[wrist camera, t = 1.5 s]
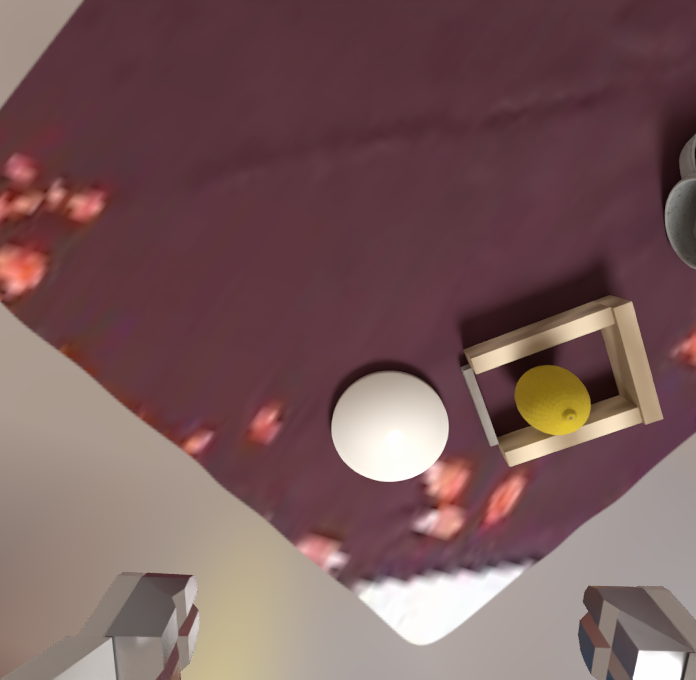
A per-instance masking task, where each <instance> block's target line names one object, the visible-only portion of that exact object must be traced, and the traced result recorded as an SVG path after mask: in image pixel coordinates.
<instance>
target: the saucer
mask: <svg viewBox="0 0 696 680" xmlns="http://www.w3.org/2000/svg"><path fill="white" fill-rule="evenodd" d="M448 431H449V425H448V417H447V413H446V410H445V408H444V405H443V403H442V401H441V399H440V397H439V396H438V394H437V393H436V392H435V390H434V389H433V388H432V387H431V386H430V385H429V384H427V383H426V382H425V381H423V380H422V379H420V378H418V377H416V376H414V375H412V374H409V373H406V372H401V371H392V370H389V371H379V372H374V373H371V374H368V375H366V376H363V377H361V378H360V379H358V380H356V381H355V382H353V383H352V384H351V385H350V386H349V387H348V388H347V389H346V390H345V391H344V392H343V394H342V395H341V396H340V398H339V400H338V402H337V404H336V406H335V409H334V413H333V418H332V437H333V442H334V445H335V447H336V450H337V452H338V453H339V455H340V457H341V458H342V459H343V461H344V462H345V463H346V464H347V465H348V466H349V467H350V468H352V469H353V470H354V471H356V472H357V473H359V474H361V475H363V476H365V477H367V478H371V479H374V480H379V481H388V482H389V481H401V480H405V479H409V478H412V477H414V476H417V475H418V474H420V473H422V472H424V471H425V470H426V469H428V468H429V467H430V466H431V465H432V464H433V463H434V462H435V461H436V460H437V459H438V458H439V456H440V454H441V453H442V451H443V449H444V447H445V445H446V441H447V438H448Z"/></svg>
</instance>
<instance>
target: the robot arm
mask: <svg viewBox="0 0 696 680" xmlns="http://www.w3.org/2000/svg"><path fill="white" fill-rule="evenodd" d="M197 592H198V591H197V581H196V577H195V576H194V575H179V574H161V573H132V572H123V573H121V574H119V575H118V576H117V577H116V578H115V580H114V581H113V582H112V584H111V585H110V587H109V588H108V590H107V591H106V592H105V594H104V595H103V597H102V598H101V600H100V601H99V602H98V604H97V605H96V607H95V608H94V610H93V611H92V613H91V614H90V615H89V617H88V618H87V620H86V621H85V623H84V624H83V625H82V627H81V628H80V630H79V631H78V633H77V634H76V635H75V636H67V637H65V638H64V639H62V640H61V641H59V642H58V643H56V644H54V645H53V646H51V647H50V648H48V649H47V650H45V651H43V652H42V653H40V654H39V655H37V656H36V657H34V658H32V659H31V660H30V661H28V662H26V663H25V664H23V665H21V666H20V667H18V668H17V669H15V670H14V671H12V672H10V673H9V674H7V675H6V676H4V677H3V678H1V679H0V680H181V670H183V669H184V668H185V667H186V666H187V665H188V664H189V663H190V661H191V658H192V656H193V653H194V650H195V646H196V641H197V636H198V629H199V610H198V609H197V608H196V607H195V605H194V604H193V601H194V599H195V597H196V594H197ZM583 604H584V605H585V607H586V609H587V610H588V613H587V614H586V615H585V616H584V617H583V618H582V619H581V620H580V622H579V631H578V637H579V645H580V651H581V654H582V656H583V659H584V662H585V664H586V666H587V668H588V670H589V672H590V674H591V675H592V676H594V677H595V678H596V679H597V680H696V620H695V619H694V617H693V616H692V615H691V614H690V613H689V612H688V611H687V610H686V609H685V607H684V606H683V605H682V604H681V603H680V602H679V601H678V600H677V598H676V597H675V596H674V595H673V594H672V593H671V592H670V591H669V590H668V589H666V588H664V587H662V586H637V587H621V586H588V587H587V589H586V590H585V592H584V597H583Z"/></svg>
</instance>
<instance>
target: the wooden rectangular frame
mask: <svg viewBox="0 0 696 680" xmlns="http://www.w3.org/2000/svg"><path fill="white" fill-rule="evenodd" d="M599 329H601V332H602V336H603V339H604V343H605V346H606V350H607V353H608V357H609V360H610V364H611V367H612V371H613V374H614V378H615V381H616V385H617V388H618V392H619V395H618V396H615V397H612V398H609V399H606V400H603V401H600V402H597V403H595V404H592V405H591V409H590V414H589V417H588V419H587V421H586V422H585V423H584V425H583V426H582V427H581V428H579V429H578V430H577V431H575V432H572V433H570V434H566V435H551V434H547V433H544V432H542V431H540V430H538V429H536V428H534V427H533V426H528V427H525V428H523V429H520V430H517V431H514V432H511V433H508V434H505V435H502V436H499V437H496V434H495V431H494V429H493V426H492V423H491V420H490V418H489V415H488V412H487V409H486V407H485V404H484V401H483V398H482V395H481V393H480V390H479V387H478V384H477V382H476V379H475V376H474V373H473V371H474V372H475V373H476V374H479V373H482V372H484V371H487V370H490V369H493V368H495V367H498V366H501V365H503V364H506V363H509V362H512V361H514V360H517V359H520V358H523V357H525V356H528V355H531V354H534V353H536V352H539V351H542V350H544V349H547V348H550V347H553V346H555V345H558V344H561V343H564V342H566V341H569V340H572V339H575V338H577V337H580V336H583V335H585V334H588V333H591V332H594V331H596V330H599ZM464 353H465V355H466V358H467V361H468V365H465V366H462V367H461V370H462V373H463V376H464V378H465V381H466V384H467V387H468V389H469V392H470V395H471V397H472V400H473V403H474V406H475V408H476V411H477V414H478V417H479V419H480V422H481V425H482V427H483V430H484V433H485V436H486V438H487V441H488V443H489V444H490V446H494V445H497V444H498V447H499V449H500V452H501V453H502V455H503V457H504V458H505V460H506V462H507V463H508V465H509V467H511V466H514V465H517V464H520V463H523V462H526V461H529V460H532V459H535V458H538V457H541V456H544V455H547V454H550V453H553V452H556V451H559V450H562V449H564V448H567V447H570V446H573V445H576V444H579V443H582V442H585V441H588V440H591V439H594V438H597V437H600V436H603V435H606V434H609V433H612V432H615V431H618V430H621V429H624V428H627V427H630V426H633V425H636V424H638V423H641V422H643V423H644V424H645V425H646V424H649V423H652V422H655V421H658V420H661V419H663V416H662V413H661V409H660V405H659V401H658V398H657V394H656V390H655V386H654V383H653V379H652V375H651V371H650V368H649V364H648V360H647V356H646V353H645V349H644V345H643V341H642V338H641V334H640V330H639V326H638V323H637V319H636V315H635V311H634V308H633V304H632V301H628V300H625V299H622V298H618V297H615V296H611V295H608V296H605V297H603V298H600V299H597V300H595V301H592V302H589V303H587V304H584V305H581V306H579V307H576V308H573V309H571V310H568V311H565V312H563V313H560V314H557V315H554V316H552V317H549V318H546V319H544V320H541V321H538V322H536V323H533V324H530V325H528V326H525V327H522V328H520V329H517V330H514V331H512V332H509V333H506V334H504V335H501V336H498V337H496V338H493V339H490V340H488V341H485V342H482V343H480V344H477V345H474V346H472V347H469V348H466V349H464ZM472 369H473V371H472Z"/></svg>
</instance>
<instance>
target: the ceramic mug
mask: <svg viewBox="0 0 696 680" xmlns="http://www.w3.org/2000/svg"><path fill="white" fill-rule="evenodd" d="M695 147H696V134H695V135H694V136H693V137H692V138H691V139H690V140H689V141H688V142H687V143H686V144H685V146H684V148H683V150H682V151H681V154H680V157H679V166H680V174H681V178H682V180H680V181H679V182H678V183H677V184H676V185H675V186H674V187H673V188H672V190H671V192H670V193H669V195H668V198H667V201H666V205H665V227H666V232H667V236H668V238H669V241H670V244H671V246H672V248H673V249H674V250H675V252H676V254H677V255H678V256H679V257H680V259H681V260H682V261H683V262H685V263H686V264H687V265H689V266H690V267H692V268H694V269H696V165H695Z"/></svg>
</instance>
